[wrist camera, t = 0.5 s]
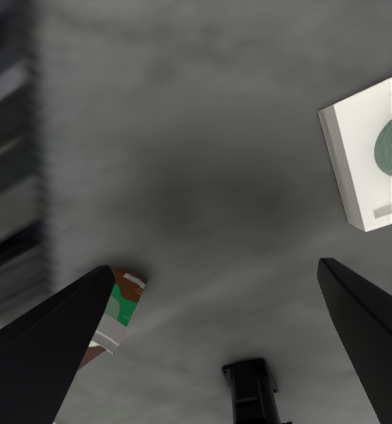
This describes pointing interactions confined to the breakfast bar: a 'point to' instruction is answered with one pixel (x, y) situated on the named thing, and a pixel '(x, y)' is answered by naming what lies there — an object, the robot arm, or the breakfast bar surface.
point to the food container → (116, 314)
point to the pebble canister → (384, 149)
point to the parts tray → (360, 154)
